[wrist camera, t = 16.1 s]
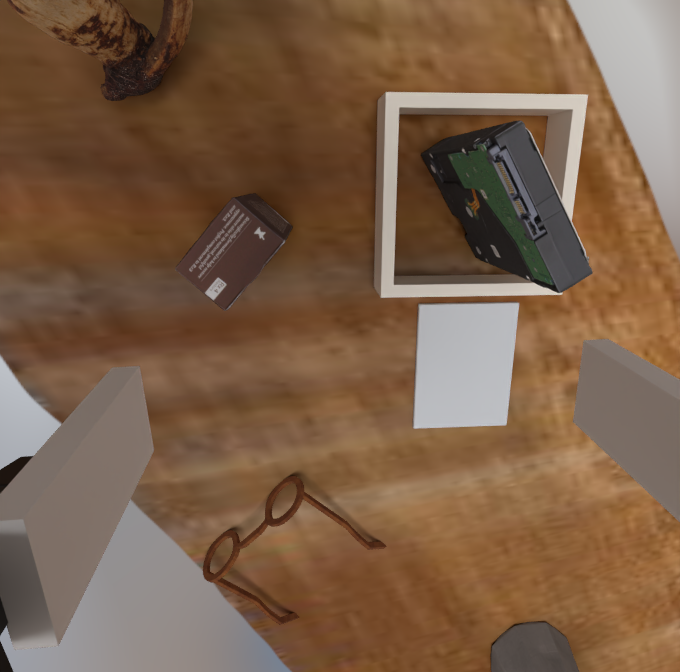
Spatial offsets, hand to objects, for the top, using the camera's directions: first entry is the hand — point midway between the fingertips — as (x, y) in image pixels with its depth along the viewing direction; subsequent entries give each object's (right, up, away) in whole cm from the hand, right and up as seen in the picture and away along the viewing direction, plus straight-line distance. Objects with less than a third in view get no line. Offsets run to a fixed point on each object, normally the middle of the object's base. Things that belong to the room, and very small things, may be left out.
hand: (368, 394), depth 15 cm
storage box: (+10, +13, +28) cm, 32 cm away
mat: (+11, -1, +32) cm, 34 cm away
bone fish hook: (-14, +23, +23) cm, 35 cm away
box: (-8, +10, +28) cm, 31 cm away
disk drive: (+9, +13, +28) cm, 33 cm away
